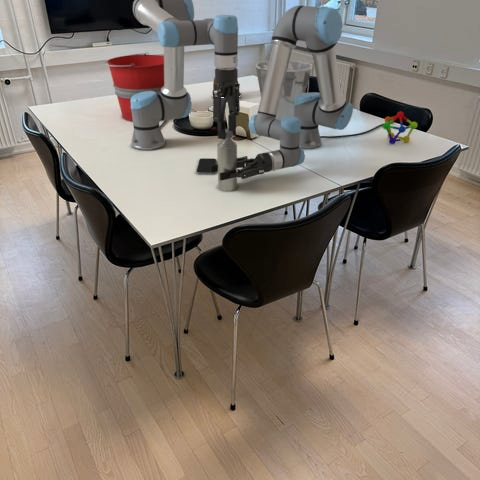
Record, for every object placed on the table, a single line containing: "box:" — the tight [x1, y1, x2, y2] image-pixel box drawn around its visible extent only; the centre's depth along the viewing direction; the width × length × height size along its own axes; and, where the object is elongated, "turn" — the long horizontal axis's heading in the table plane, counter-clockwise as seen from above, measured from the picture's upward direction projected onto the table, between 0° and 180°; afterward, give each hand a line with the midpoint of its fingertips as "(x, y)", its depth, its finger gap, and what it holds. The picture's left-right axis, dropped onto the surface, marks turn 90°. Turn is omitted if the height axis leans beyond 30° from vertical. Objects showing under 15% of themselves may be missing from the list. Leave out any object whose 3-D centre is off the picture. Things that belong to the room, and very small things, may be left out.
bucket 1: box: [103, 52, 164, 122], centre depth 240 cm, size 35×35×30 cm
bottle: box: [216, 138, 238, 192], centre depth 163 cm, size 7×7×21 cm
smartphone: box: [196, 157, 217, 175], centre depth 184 cm, size 7×1×15 cm
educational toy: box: [382, 110, 418, 145], centre depth 207 cm, size 16×13×15 cm
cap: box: [225, 128, 234, 139], centre depth 157 cm, size 4×4×2 cm
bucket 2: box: [255, 59, 313, 120], centre depth 236 cm, size 30×30×28 cm
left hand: (226, 135), depth 158 cm, fingers open, 6 cm apart
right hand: (215, 173), depth 163 cm, fingers closed on bottle, 7 cm apart
